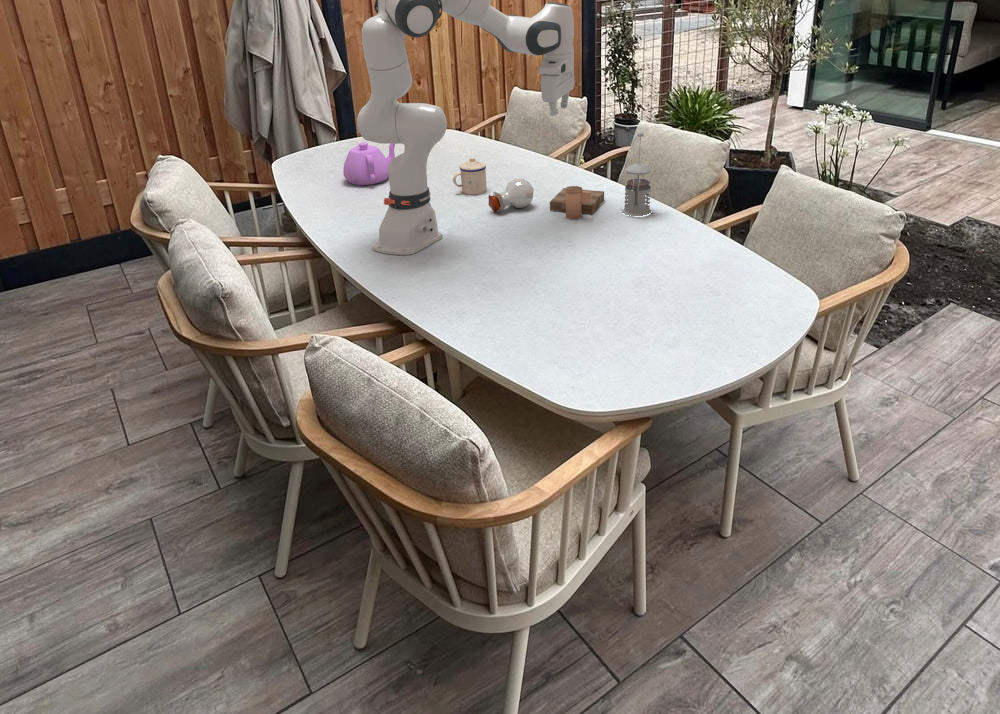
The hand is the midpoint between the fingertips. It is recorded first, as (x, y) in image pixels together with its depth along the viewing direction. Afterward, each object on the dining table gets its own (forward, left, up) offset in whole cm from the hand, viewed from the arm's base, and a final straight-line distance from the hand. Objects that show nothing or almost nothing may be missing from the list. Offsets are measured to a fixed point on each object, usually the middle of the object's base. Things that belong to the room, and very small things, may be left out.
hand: (559, 111), depth 229 cm
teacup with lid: (+10, +36, -31) cm, 49 cm away
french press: (+4, -24, -31) cm, 40 cm away
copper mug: (-4, -7, -31) cm, 32 cm away
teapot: (+14, +77, -31) cm, 84 cm away
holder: (+6, -4, -31) cm, 32 cm away
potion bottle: (-3, +15, -31) cm, 35 cm away
